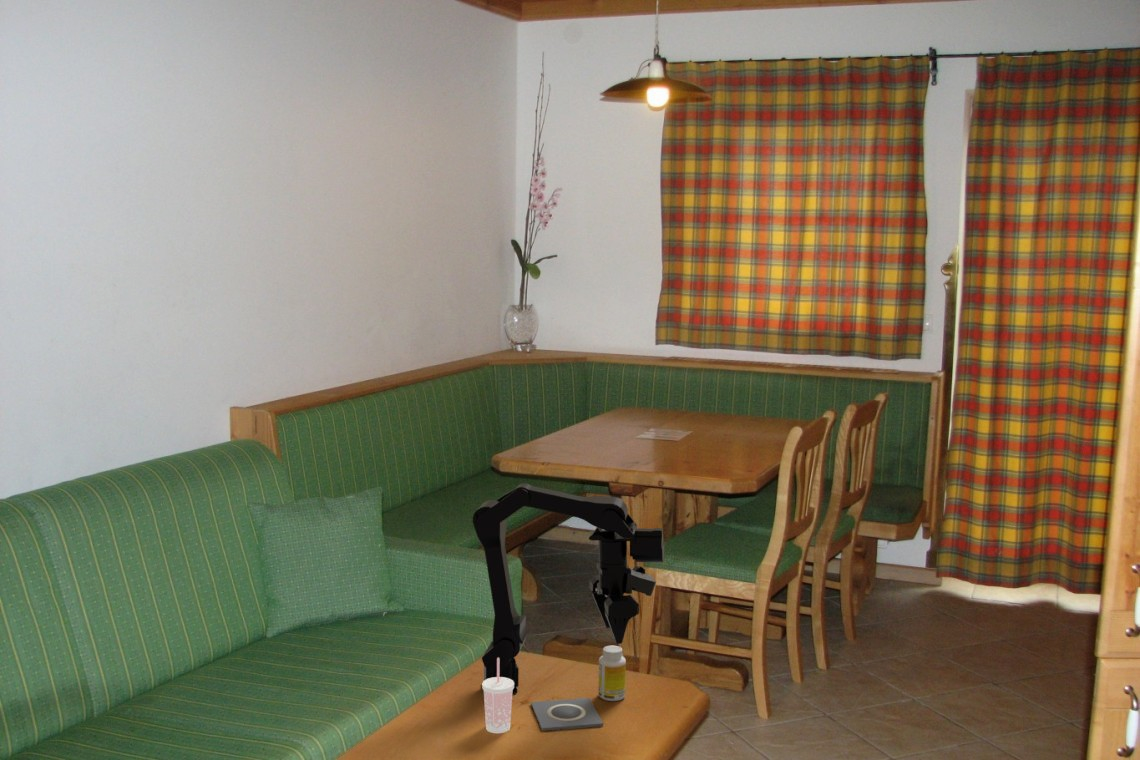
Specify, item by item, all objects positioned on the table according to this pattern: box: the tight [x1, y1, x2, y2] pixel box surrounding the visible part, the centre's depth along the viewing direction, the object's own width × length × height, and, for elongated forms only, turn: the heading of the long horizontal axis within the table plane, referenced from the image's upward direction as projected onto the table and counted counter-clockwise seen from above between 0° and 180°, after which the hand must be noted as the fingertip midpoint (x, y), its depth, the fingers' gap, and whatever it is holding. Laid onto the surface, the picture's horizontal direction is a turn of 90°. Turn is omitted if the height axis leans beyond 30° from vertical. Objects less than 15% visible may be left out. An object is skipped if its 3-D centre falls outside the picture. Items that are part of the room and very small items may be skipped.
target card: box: [530, 697, 604, 732], centre depth 217 cm, size 12×12×1 cm
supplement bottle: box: [597, 644, 627, 702], centre depth 225 cm, size 6×6×10 cm
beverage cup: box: [481, 658, 514, 734], centre depth 210 cm, size 6×6×14 cm
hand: (613, 635), depth 224 cm, fingers open, 9 cm apart
